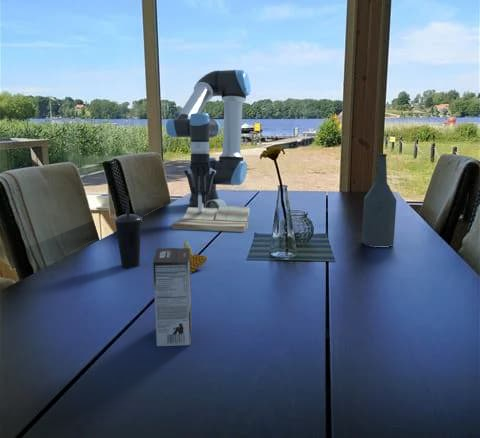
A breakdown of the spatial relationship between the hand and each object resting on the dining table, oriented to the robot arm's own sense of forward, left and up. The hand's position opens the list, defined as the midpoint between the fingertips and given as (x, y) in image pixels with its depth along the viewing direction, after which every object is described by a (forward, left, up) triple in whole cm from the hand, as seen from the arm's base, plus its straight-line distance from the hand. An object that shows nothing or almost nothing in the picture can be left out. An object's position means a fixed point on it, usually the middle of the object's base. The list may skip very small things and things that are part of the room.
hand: (200, 211), depth 185 cm
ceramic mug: (-14, +2, -5) cm, 15 cm away
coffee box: (+99, +24, -5) cm, 101 cm away
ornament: (+57, +13, -5) cm, 59 cm away
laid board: (+9, +7, -5) cm, 12 cm away
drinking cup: (+60, -3, -5) cm, 60 cm away
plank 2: (0, +13, -2) cm, 13 cm away
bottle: (+23, +68, -5) cm, 71 cm away
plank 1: (0, 0, -3) cm, 3 cm away
